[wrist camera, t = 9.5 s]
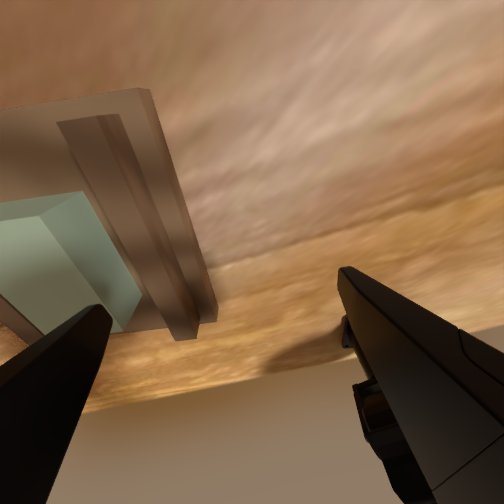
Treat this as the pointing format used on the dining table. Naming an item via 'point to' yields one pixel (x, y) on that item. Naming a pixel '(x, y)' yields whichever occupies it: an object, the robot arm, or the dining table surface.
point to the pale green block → (61, 262)
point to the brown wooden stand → (113, 199)
